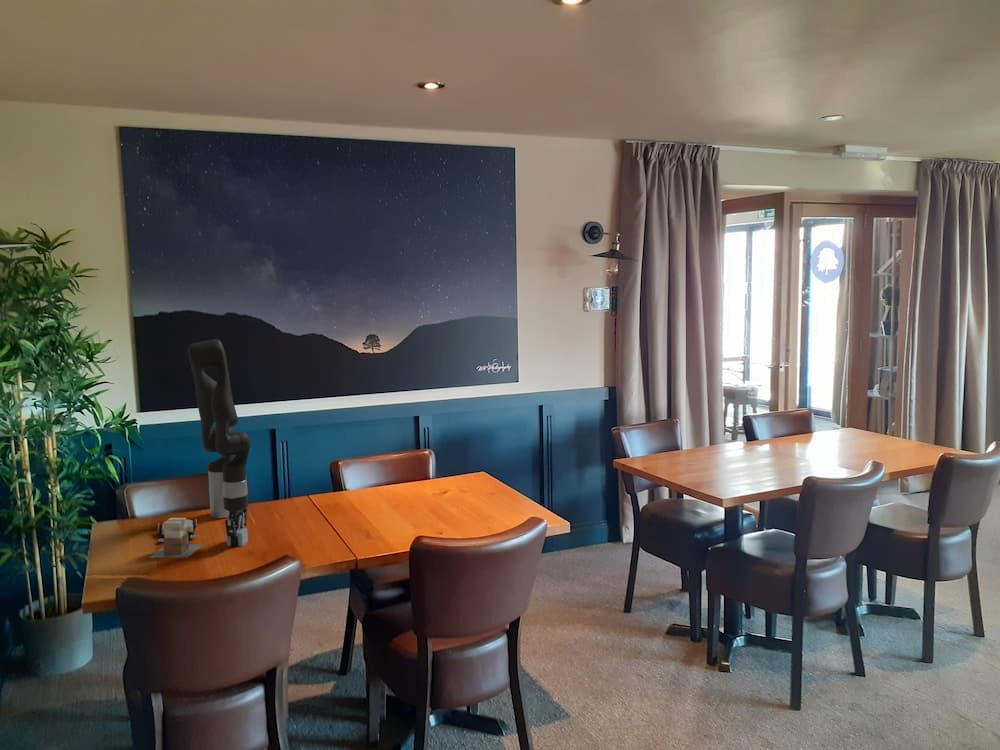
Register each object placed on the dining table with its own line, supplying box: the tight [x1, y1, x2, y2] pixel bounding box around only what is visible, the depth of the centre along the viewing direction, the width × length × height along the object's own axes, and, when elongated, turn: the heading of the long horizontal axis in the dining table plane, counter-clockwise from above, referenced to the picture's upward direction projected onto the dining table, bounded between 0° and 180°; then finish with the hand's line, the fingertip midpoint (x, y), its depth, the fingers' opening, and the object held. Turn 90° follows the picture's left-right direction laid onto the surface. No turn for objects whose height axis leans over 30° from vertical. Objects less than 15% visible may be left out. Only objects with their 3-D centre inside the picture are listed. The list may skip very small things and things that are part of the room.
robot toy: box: [157, 518, 198, 543], centre depth 252 cm, size 12×4×15 cm
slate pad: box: [148, 543, 203, 559], centre depth 238 cm, size 12×12×1 cm
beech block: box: [163, 517, 187, 538], centre depth 237 cm, size 5×5×5 cm
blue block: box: [226, 527, 249, 547], centre depth 244 cm, size 5×5×5 cm
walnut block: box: [162, 533, 189, 554], centre depth 237 cm, size 6×6×5 cm
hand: (237, 544), depth 244 cm, fingers closed on blue block, 5 cm apart
